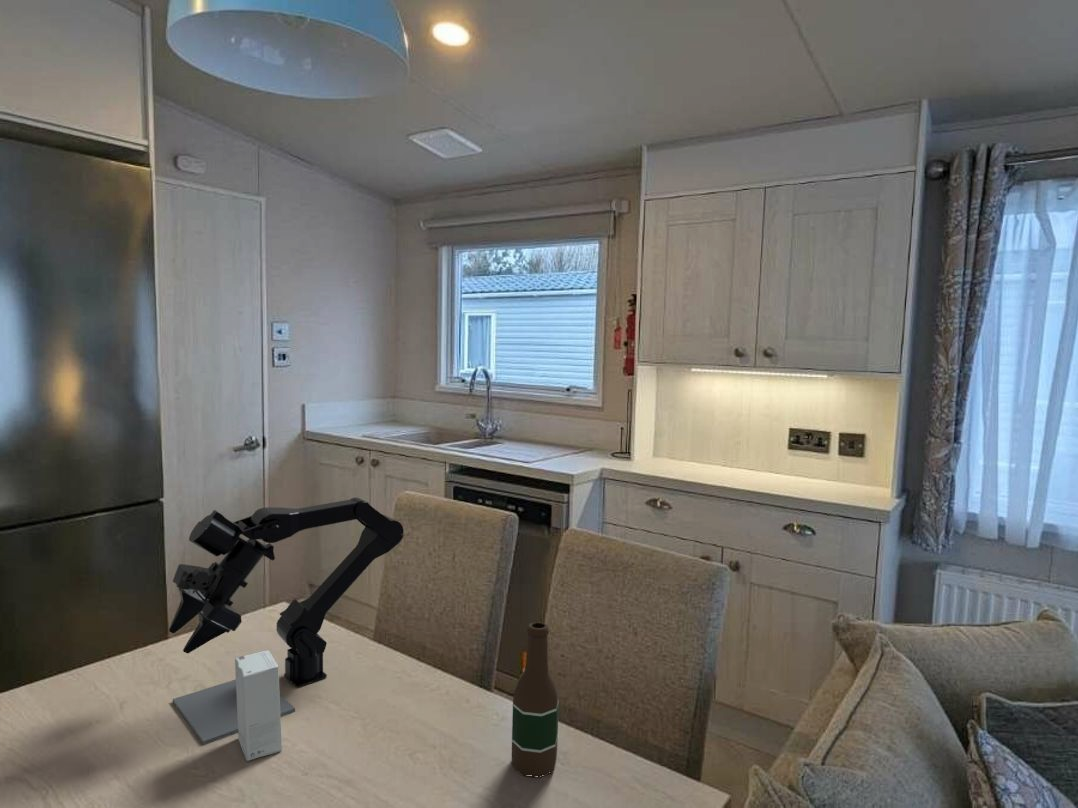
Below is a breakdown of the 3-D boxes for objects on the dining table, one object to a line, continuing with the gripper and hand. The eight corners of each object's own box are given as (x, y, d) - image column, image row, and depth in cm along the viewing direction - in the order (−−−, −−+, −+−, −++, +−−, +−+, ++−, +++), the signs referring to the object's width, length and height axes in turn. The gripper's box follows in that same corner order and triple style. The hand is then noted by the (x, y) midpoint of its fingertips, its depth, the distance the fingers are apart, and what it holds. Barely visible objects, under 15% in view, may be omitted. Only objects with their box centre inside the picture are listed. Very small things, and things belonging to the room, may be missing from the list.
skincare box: (282, 751, 113) (281, 667, 112) (244, 763, 110) (243, 676, 109) (271, 727, 120) (270, 647, 119) (235, 737, 117) (234, 655, 116)
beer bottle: (541, 785, 106) (546, 639, 104) (501, 768, 111) (504, 627, 108) (566, 760, 113) (570, 622, 111) (527, 744, 117) (531, 611, 115)
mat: (257, 675, 139) (257, 672, 139) (294, 711, 126) (294, 708, 126) (172, 702, 128) (172, 699, 128) (203, 744, 115) (203, 741, 115)
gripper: (185, 533, 130) (126, 605, 125) (216, 563, 116) (152, 645, 111) (231, 560, 136) (177, 629, 131) (266, 591, 123) (207, 670, 118)
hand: (177, 642), depth 123 cm, fingers open, 9 cm apart
